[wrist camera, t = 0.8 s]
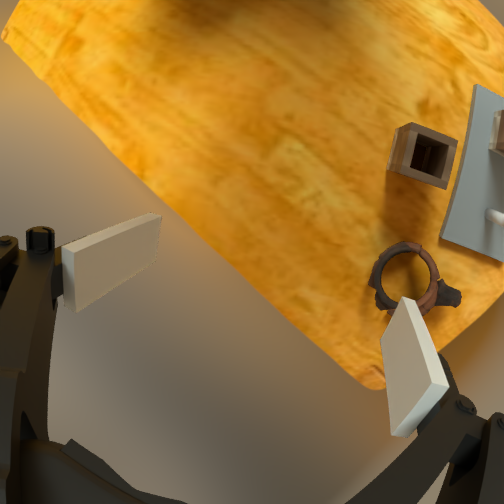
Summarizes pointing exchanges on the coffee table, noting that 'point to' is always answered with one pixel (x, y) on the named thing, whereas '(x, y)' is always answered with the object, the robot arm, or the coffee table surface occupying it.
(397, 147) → the sleeve loose
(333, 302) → the coffee table surface
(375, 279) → the pottery mug
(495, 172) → the pin board
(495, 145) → the sleeve seated
